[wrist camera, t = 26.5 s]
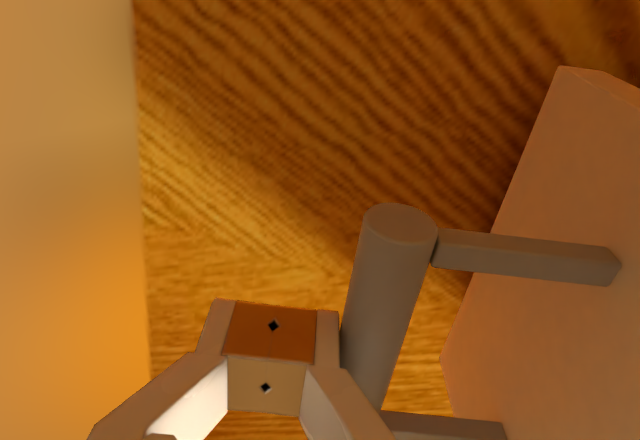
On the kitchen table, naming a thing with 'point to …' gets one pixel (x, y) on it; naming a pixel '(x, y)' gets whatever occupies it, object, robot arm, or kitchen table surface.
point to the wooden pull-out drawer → (522, 285)
